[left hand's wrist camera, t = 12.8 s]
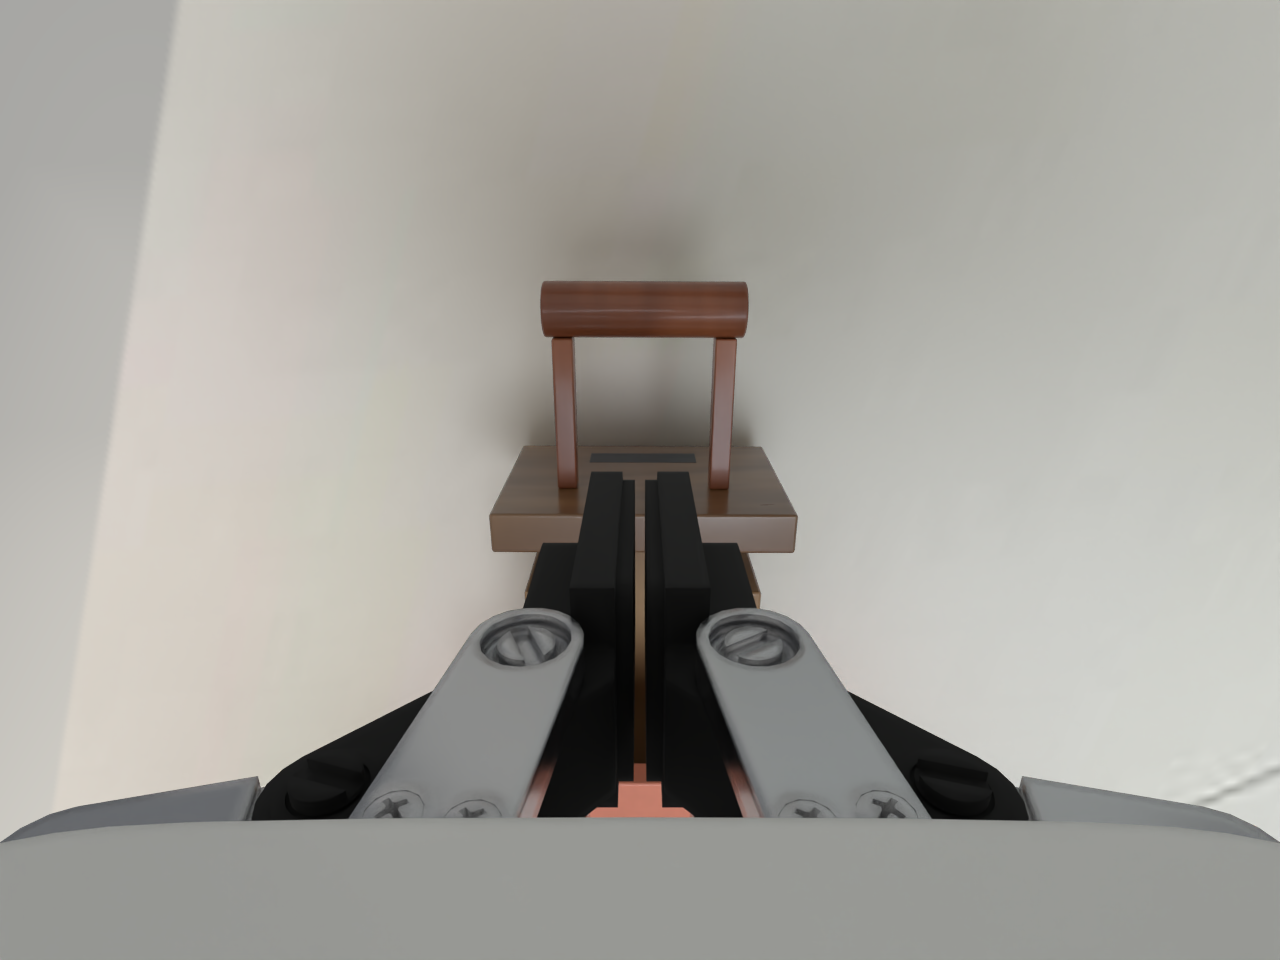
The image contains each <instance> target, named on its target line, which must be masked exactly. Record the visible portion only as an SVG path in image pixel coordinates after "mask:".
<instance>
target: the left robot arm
mask: <svg viewBox="0 0 1280 960" xmlns="http://www.w3.org/2000/svg"><path fill="white" fill-rule="evenodd" d="M634 713H635V480H623V471H591V475H590V481H589V486H588V491H587V497H586V502H585V507H584V513H583V518H582V523H581V529H580V534H579V539H578V543H543V544H542V546H541V549H540V553H539V556H538V559H537V563H536V566H535V569H534V573H533V576H532V580H531V583H530V586H529V590H528V593H527V597H526V600H525V603H524V607H523V609H517V610H511V611H507V612H504V613H501V614H499V615H496V616H493V617H491V618H490V619H488V620H486V621H485V622H483V623H481V624H480V625H479V626H478V627H477V628H476V629H475V630H474V631H473V632H472V633H471V635H470V636H469V638H468V639H467V641H466V642H465V644H464V645H463V647H462V648H461V650H460V651H459V653H458V654H457V656H456V657H455V659H454V660H453V662H452V663H451V665H450V666H449V668H448V669H447V671H446V672H445V674H444V675H443V677H442V678H441V680H440V681H439V683H438V684H437V686H436V687H435V689H434V690H433V691H432V692H430V693H428V694H426V695H424V696H422V697H420V698H418V699H416V700H414V701H412V702H410V703H408V704H406V705H404V706H402V707H400V708H398V709H396V710H394V711H392V712H390V713H388V714H386V715H384V716H382V717H380V718H378V719H376V720H374V721H372V722H371V723H369V724H367V725H365V726H363V727H361V728H359V729H357V730H355V731H353V732H351V733H349V734H347V735H345V736H343V737H341V738H339V739H337V740H335V741H333V742H331V743H329V744H327V745H325V746H323V747H321V748H319V749H317V750H315V751H313V752H311V753H309V754H307V755H305V756H303V757H302V758H300V759H299V760H297V761H295V762H294V763H292V764H291V765H289V766H287V767H286V768H284V769H283V770H282V771H281V772H279V773H278V774H277V775H276V776H275V777H274V778H273V779H272V780H271V781H270V782H269V783H268V784H267V785H266V786H265V787H263V788H261V787H260V783H259V779H258V776H256V777H250V778H244V779H238V780H232V781H226V782H220V783H214V784H209V785H203V786H197V787H191V788H185V789H179V790H173V791H167V792H161V793H155V794H149V795H143V796H137V797H131V798H125V799H119V800H113V801H108V802H102V803H96V804H90V805H84V806H78V807H74V808H70V809H67V810H63V811H60V812H56V813H52V814H49V815H47V816H45V817H43V818H41V819H39V820H37V821H35V822H33V823H30V824H28V825H26V826H24V827H22V828H20V829H19V830H17V831H16V832H14V833H13V834H12V835H10V836H9V837H7V838H6V839H4V840H3V841H1V842H0V960H1280V842H1279V841H1277V840H1276V839H1274V838H1273V837H1271V836H1270V835H1268V834H1267V833H1266V832H1264V831H1263V830H1261V829H1260V828H1258V827H1256V826H1254V825H1252V824H1250V823H1248V822H1245V821H1243V820H1241V819H1239V818H1237V817H1235V816H1233V815H1231V814H1228V813H1224V812H1220V811H1217V810H1213V809H1210V808H1206V807H1202V806H1196V805H1190V804H1184V803H1178V802H1172V801H1167V800H1161V799H1155V798H1149V797H1143V796H1137V795H1131V794H1125V793H1119V792H1113V791H1107V790H1101V789H1095V788H1089V787H1083V786H1077V785H1071V784H1066V783H1060V782H1054V781H1048V780H1042V779H1036V778H1030V777H1024V776H1022V779H1021V783H1020V787H1019V788H1017V787H1015V786H1014V785H1013V784H1012V783H1011V782H1010V781H1009V780H1008V779H1007V778H1006V777H1005V776H1004V775H1003V774H1002V773H1001V772H999V771H998V770H997V769H996V768H994V767H993V766H991V765H989V764H988V763H986V762H985V761H983V760H981V759H980V758H978V757H977V756H975V755H973V754H971V753H969V752H967V751H965V750H963V749H961V748H959V747H957V746H955V745H953V744H951V743H949V742H947V741H945V740H943V739H941V738H939V737H937V736H935V735H933V734H931V733H929V732H927V731H925V730H923V729H921V728H919V727H917V726H915V725H913V724H911V723H909V722H908V721H906V720H904V719H902V718H900V717H898V716H896V715H894V714H892V713H890V712H888V711H886V710H884V709H882V708H880V707H878V706H876V705H874V704H872V703H870V702H868V701H866V700H864V699H862V698H860V697H858V696H856V695H854V694H852V693H850V692H848V691H847V690H846V689H845V687H844V686H843V684H842V683H841V681H840V680H839V678H838V677H837V675H836V674H835V672H834V671H833V669H832V668H831V666H830V665H829V663H828V662H827V660H826V659H825V657H824V656H823V654H822V653H821V651H820V650H819V648H818V647H817V645H816V644H815V642H814V641H813V639H812V638H811V636H810V635H809V633H808V632H807V631H806V630H805V629H804V628H803V627H802V626H801V625H800V624H799V623H797V622H795V621H794V620H792V619H790V618H789V617H787V616H784V615H781V614H779V613H776V612H773V611H769V610H763V609H757V607H756V603H755V600H754V597H753V593H752V590H751V586H750V583H749V580H748V576H747V573H746V569H745V566H744V563H743V559H742V556H741V553H740V549H739V546H738V544H737V543H702V539H701V534H700V529H699V523H698V518H697V513H696V507H695V502H694V497H693V491H692V486H691V481H690V475H689V471H657V480H645V713H646V781H661V791H662V808H684V809H686V810H687V811H688V812H689V813H690V817H590V813H591V812H592V811H593V810H594V809H596V808H618V791H619V781H634Z"/></svg>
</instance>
